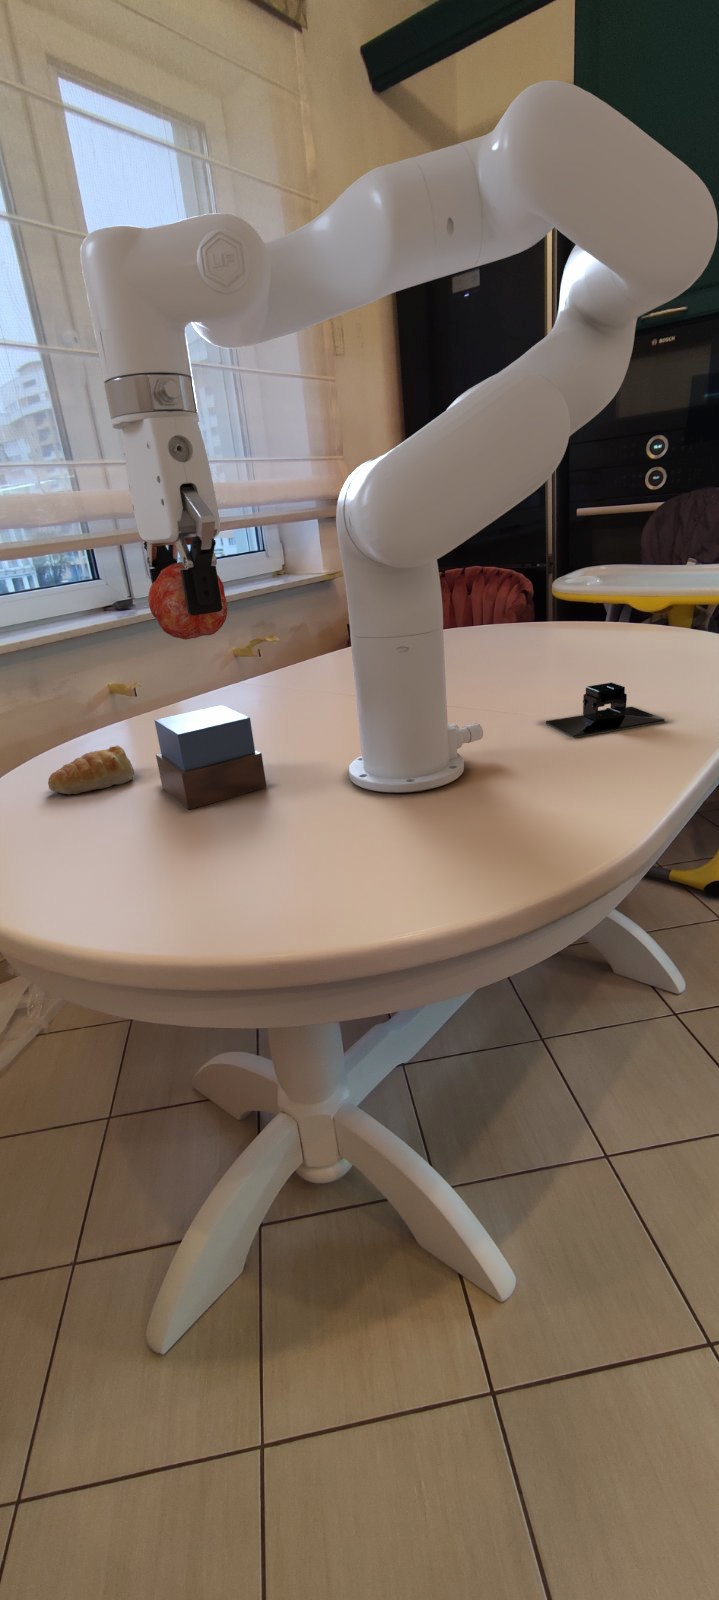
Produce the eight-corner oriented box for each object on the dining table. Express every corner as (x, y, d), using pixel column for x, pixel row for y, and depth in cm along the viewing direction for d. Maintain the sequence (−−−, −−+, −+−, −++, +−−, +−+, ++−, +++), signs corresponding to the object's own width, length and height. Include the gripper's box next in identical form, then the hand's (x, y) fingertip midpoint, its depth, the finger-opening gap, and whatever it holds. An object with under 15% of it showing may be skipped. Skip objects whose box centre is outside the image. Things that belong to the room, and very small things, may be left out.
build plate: (573, 739, 86) (574, 700, 84) (543, 724, 92) (543, 688, 91) (665, 721, 88) (667, 684, 86) (629, 708, 95) (631, 673, 93)
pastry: (60, 803, 81) (52, 770, 79) (43, 789, 86) (34, 759, 84) (140, 779, 86) (133, 748, 85) (119, 768, 91) (112, 739, 90)
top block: (227, 737, 85) (222, 704, 83) (255, 753, 78) (250, 717, 77) (161, 754, 81) (154, 719, 79) (184, 771, 75) (177, 734, 73)
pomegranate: (156, 661, 73) (141, 609, 64) (154, 598, 75) (139, 538, 66) (230, 659, 75) (226, 608, 65) (227, 596, 76) (222, 538, 67)
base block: (235, 768, 87) (229, 736, 85) (266, 787, 80) (261, 753, 78) (162, 787, 83) (155, 754, 81) (188, 809, 75) (181, 774, 74)
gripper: (233, 388, 58) (263, 610, 65) (161, 420, 72) (191, 600, 79) (142, 387, 55) (184, 623, 61) (84, 421, 68) (123, 611, 75)
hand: (188, 609), depth 70 cm, fingers closed on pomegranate, 8 cm apart
